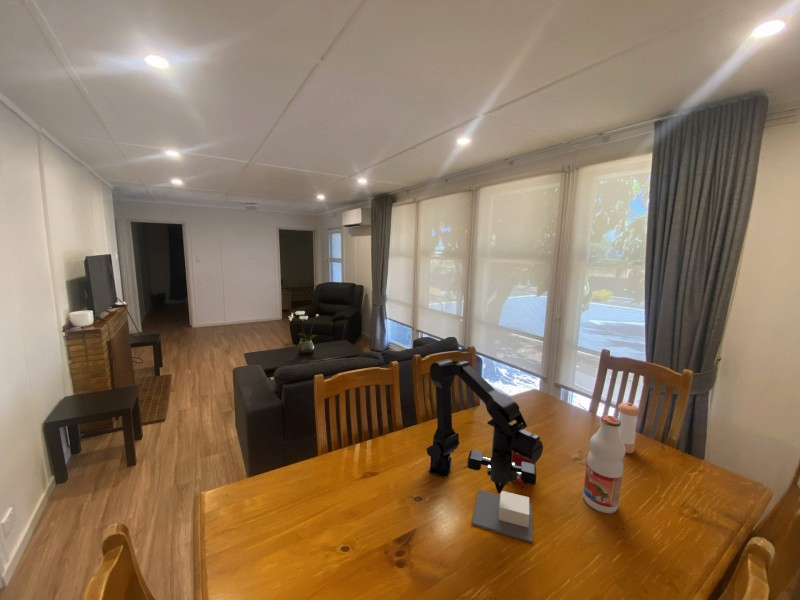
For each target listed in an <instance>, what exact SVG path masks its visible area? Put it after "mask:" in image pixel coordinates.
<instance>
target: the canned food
mask: <svg viewBox="0 0 800 600" xmlns="http://www.w3.org/2000/svg"><path fill="white" fill-rule="evenodd" d="M521 462H527V463H531V464H534V465H535V466H536V465H537V462H535V463H534V462H532V461H530V460H528V459H527V458H525V457H523V456H521V455H519V454H517V453H516V452H514V451H513V458H512V463H514V464H515V465H516V466H521ZM515 482H516V483H518V484H521V485H529V484H528V483H524V482H523V481H522V480H521V475H520V474H517V481H515Z"/></svg>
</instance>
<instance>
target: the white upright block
mask: <svg viewBox="0 0 800 600" xmlns="http://www.w3.org/2000/svg"><path fill="white" fill-rule="evenodd" d="M499 495H500V504H499V520H502V521H505V522H509V523H513V524H516V525H520V526H524V527H528V528H529V503H530V497H529V496H525V495H521V494H516V493H512V492H508V491H504V490H502V492H501V493H500V494H499Z"/></svg>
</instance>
